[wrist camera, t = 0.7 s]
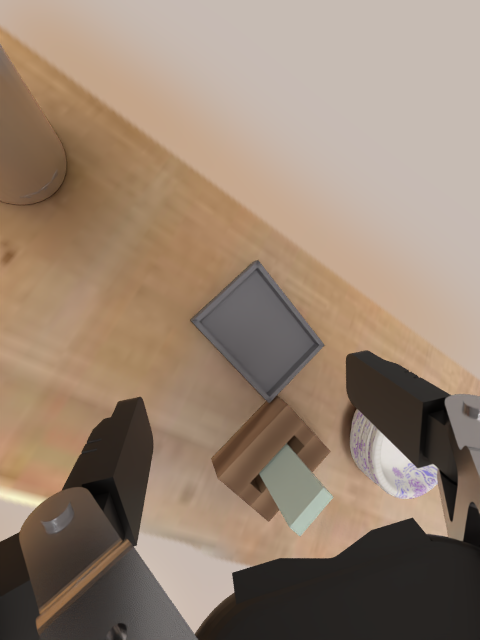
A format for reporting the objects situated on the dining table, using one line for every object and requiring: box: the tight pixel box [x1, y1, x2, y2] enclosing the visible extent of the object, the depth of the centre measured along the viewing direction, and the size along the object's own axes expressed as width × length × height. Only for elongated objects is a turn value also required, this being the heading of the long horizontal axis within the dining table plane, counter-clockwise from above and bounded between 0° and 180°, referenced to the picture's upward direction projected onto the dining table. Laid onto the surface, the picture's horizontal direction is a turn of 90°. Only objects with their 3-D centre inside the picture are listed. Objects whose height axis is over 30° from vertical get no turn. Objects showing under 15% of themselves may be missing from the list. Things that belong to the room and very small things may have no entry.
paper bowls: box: [350, 409, 438, 499], centre depth 40 cm, size 15×15×8 cm
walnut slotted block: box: [211, 396, 331, 522], centre depth 36 cm, size 10×12×4 cm
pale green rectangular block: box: [259, 443, 333, 536], centre depth 32 cm, size 2×5×11 cm, turn 132°
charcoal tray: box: [190, 260, 324, 403], centre depth 35 cm, size 15×11×2 cm
